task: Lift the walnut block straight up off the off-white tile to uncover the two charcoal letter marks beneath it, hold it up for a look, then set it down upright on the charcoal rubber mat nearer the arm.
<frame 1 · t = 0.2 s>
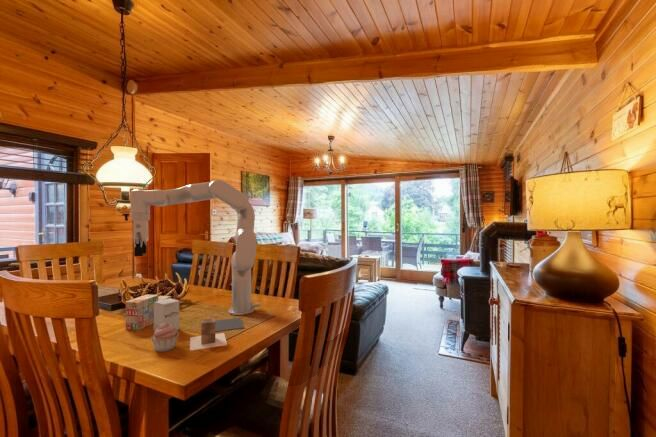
hand: (140, 254, 144), 31 cm above the table, tool pointing down, fingers open, 9 cm apart
supplement box: (166, 330, 135), on the table
cupcake: (165, 349, 117), on the table
code tile: (208, 341, 124), on the table
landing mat: (226, 325, 142), on the table
walnut block: (208, 341, 124), resting on code tile
white printed carton: (150, 322, 146), on the table
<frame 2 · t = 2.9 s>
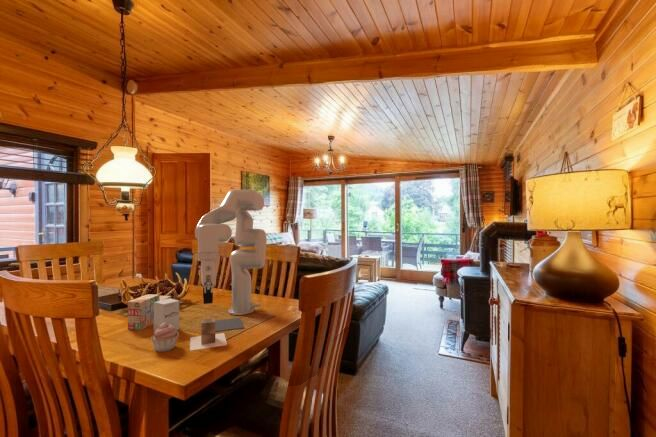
hand: (207, 300, 123), 16 cm above the table, tool pointing down, fingers open, 9 cm apart
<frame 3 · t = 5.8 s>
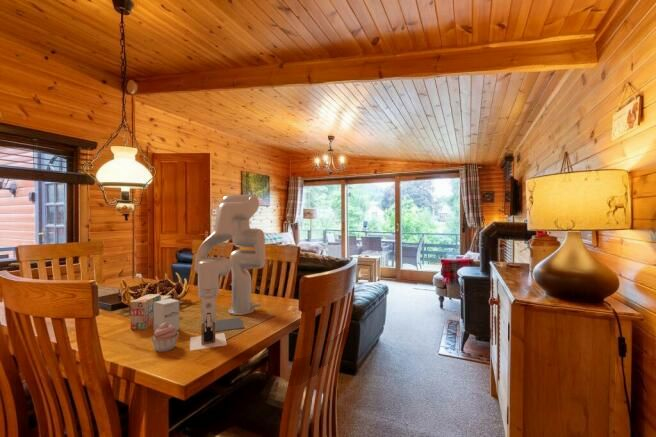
hand: (208, 337, 124), 1 cm above the table, tool pointing down, fingers closed on walnut block, 5 cm apart
walnut block: (208, 341, 124), resting on code tile, touching gripper
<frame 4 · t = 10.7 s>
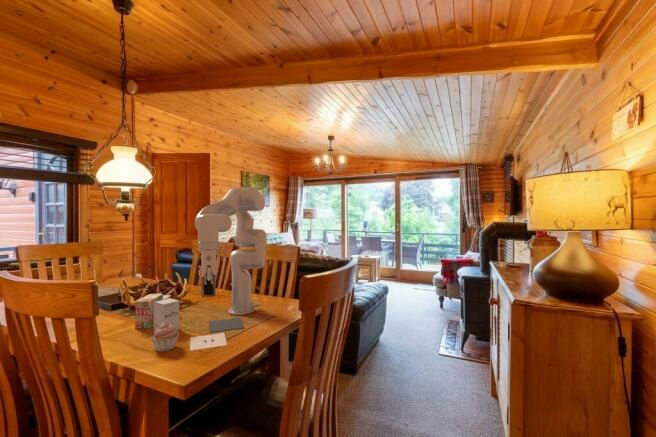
hand: (208, 292, 123), 19 cm above the table, tool pointing down, fingers closed on walnut block, 5 cm apart
walnut block: (208, 295, 124), point 18 cm above the table, touching gripper
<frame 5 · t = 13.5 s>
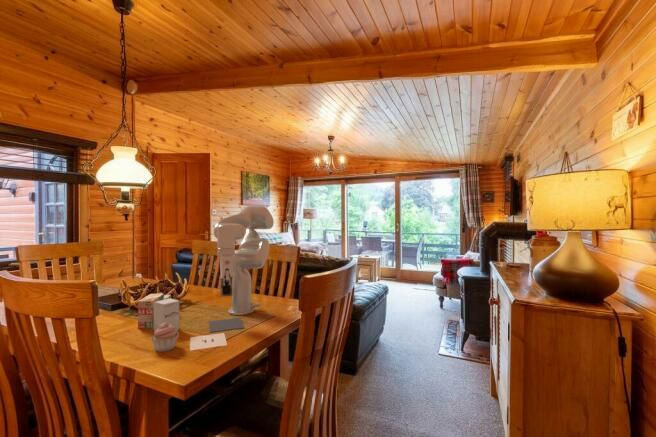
hand: (226, 292, 141), 15 cm above the table, tool pointing down, fingers closed on walnut block, 5 cm apart
walnut block: (225, 294, 141), point 14 cm above the table, touching gripper
when the fingers open (3 cm above the table, at t = 15.9 s): walnut block drops 2 cm, resting on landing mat.
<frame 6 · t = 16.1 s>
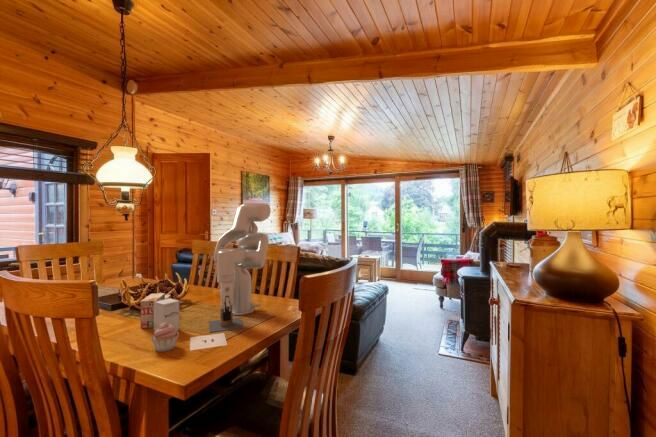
hand: (226, 317, 142), 4 cm above the table, tool pointing down, fingers open, 7 cm apart
walnut block: (226, 324, 142), resting on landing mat
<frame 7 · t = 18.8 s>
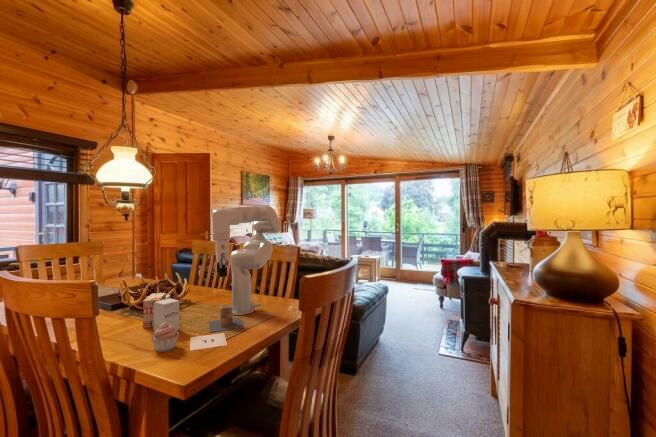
hand: (221, 274, 145), 22 cm above the table, tool pointing down, fingers open, 9 cm apart
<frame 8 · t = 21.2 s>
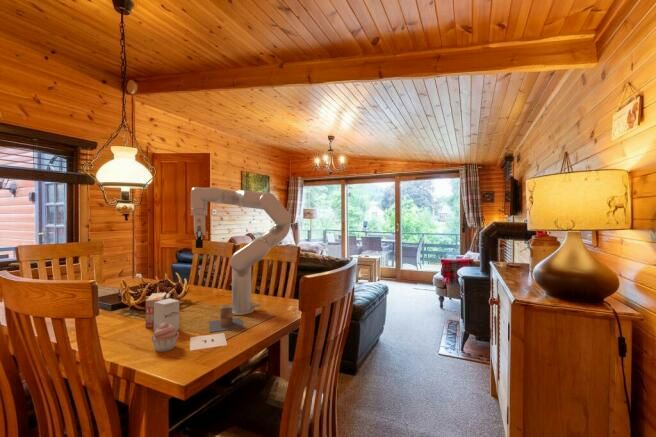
hand: (199, 247, 157), 33 cm above the table, tool pointing down, fingers open, 9 cm apart
at the end: walnut block inside the target area on the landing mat (0.1 cm from its centre), point 0.5 cm above the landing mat's base; walnut block tilted 0°; the gripper is holding nothing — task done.
